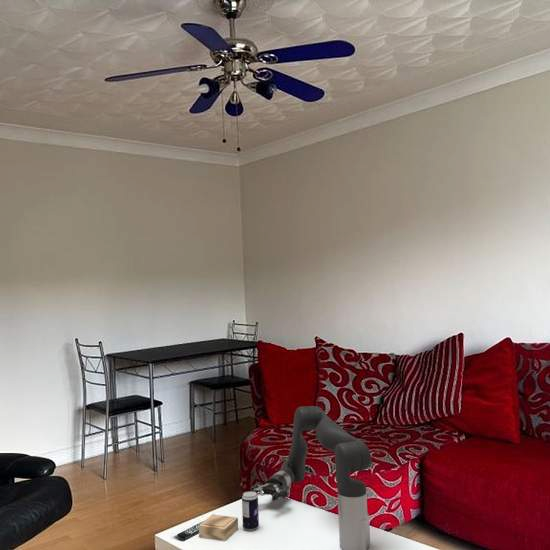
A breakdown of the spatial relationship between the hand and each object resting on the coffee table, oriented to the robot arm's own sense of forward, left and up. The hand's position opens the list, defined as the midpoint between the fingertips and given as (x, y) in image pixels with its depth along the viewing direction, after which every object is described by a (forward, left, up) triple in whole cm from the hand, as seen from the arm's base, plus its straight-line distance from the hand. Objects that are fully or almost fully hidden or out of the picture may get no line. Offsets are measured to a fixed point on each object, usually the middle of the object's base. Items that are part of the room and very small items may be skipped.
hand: (262, 497), depth 211 cm
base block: (+9, +18, -7) cm, 21 cm away
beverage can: (0, +11, -7) cm, 13 cm away
